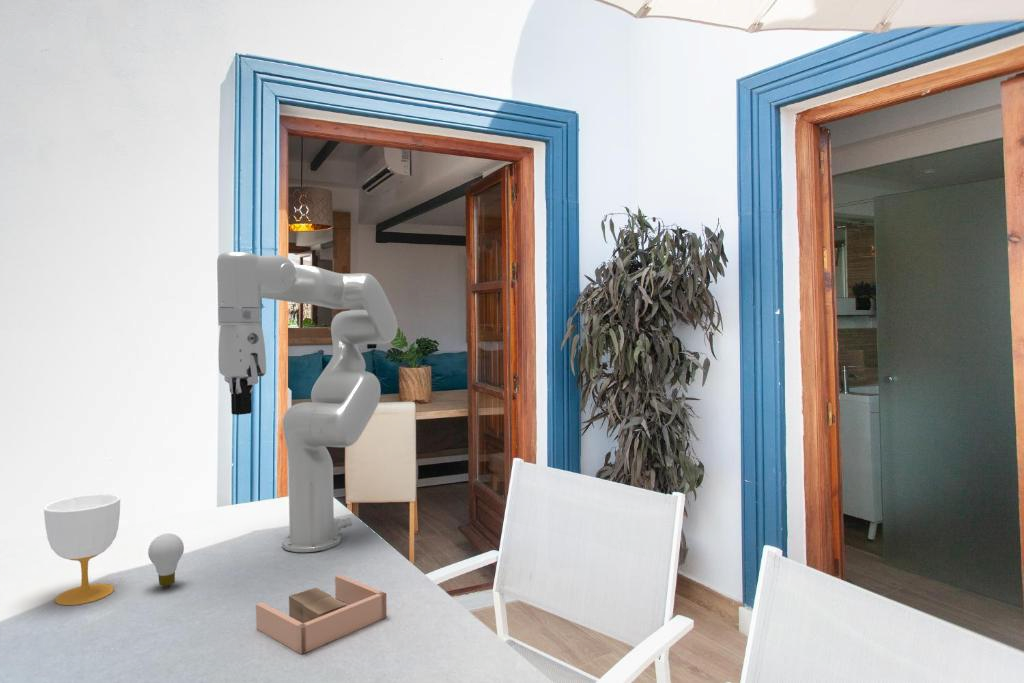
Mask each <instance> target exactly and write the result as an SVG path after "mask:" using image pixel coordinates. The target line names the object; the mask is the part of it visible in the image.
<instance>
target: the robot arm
mask: <svg viewBox="0 0 1024 683" xmlns="http://www.w3.org/2000/svg"><path fill="white" fill-rule="evenodd" d="M216 266H217V267H216V270H217V274H216V276H217V318H218V319H217V321H218V322H217V324H218V326H219V338H218V370H219V374H220V375H221V376H224V381H225V382H226V383H227V384H228V385H229V386H228V387H229V388H228V389H229V392H230V401H231V402H230V403H231V404H230V406H231V407H230V408H231V415H236V416H238V415H249V414H252V412H253V411H252V409H253V408H252V407H253V406H252V393H253V388H254V385H257V384H258V383H259V377H260V378H261V377H264V376H265V375H266V374H267V358H266V357H267V356H266V346H265V337H264V331H263V327H262V311H261V310H262V309H261V308H262V306H261V303H262V302H261V299H269V300H275V301H284V302H288V303H289V302H290V303H294V304H295V303H298V304H307V305H314V306H317V307H322V308H323V307H324V308H328V309H332V310H344V311H340V312H338V313H336V315H335V316H334V317H333V318H332V320H331V325H330V333H331V341H332V350H333V351H332V352H333V353H332V357H331V359H330V360H329V362H328V363H327V365H326V367H324V369H323V371H322V372H321V373H320V375H319V376H318V378H317V379H316V381H315V383H314V385H313V386H312V390H311V393H310V399H311V401H310V402H309V401H307V402H300V403H295V404H294V405H291V406H290V407H289V408H288V409H287V410H286V412H285V413H284V415H283V419H282V432H283V437H284V440H285V445H286V450H287V463H288V465H287V467H288V508H289V509H288V515H289V518H288V519H289V522H288V525H289V534H288V535H287V536H286V537H284V538H283V540H282V541H281V545H282V546H281V547H282V548H283V550H286V551H288V552H292V553H313V552H314V553H315V552H319V551H325V550H329V549H332V548H334V547H335V546H337V545H339V544H340V543H341V541H342V535H341V534H340V531H341V530H342V529H344V528H349V527H351V526H352V525H353V520H352V518H350V517H347V518H344V519H342V520H341V518H334V517H335V515H334V511H335V510H334V509H335V508H334V505H335V504H334V463H333V460H332V457H331V454H330V452H329V450H328V448H330V447H331V448H348V447H351V446H352V445H354V444H356V443H357V441H358V440H359V439H360V437H361V435H362V434H363V433H364V430H366V427H367V426H368V424H369V422H370V420H371V418H372V417H373V415H374V413H375V411H376V410H377V408H378V405H379V404H380V403H379V402H380V398H381V383H380V381H379V379H378V377H377V376H376V375H375V374H374V373H372V372H369V371H366V360H365V358H364V356H363V354H362V353H361V352H360V350H359V346H358V345H382V344H383V345H384V344H388V343H389V344H390V343H391V342H392V341H393V340H395V338H396V336H397V333H398V327H399V326H398V321H397V317H396V315H395V312H394V310H393V308H392V306H391V304H390V301H389V299H388V297H387V295H386V293H385V291H384V289H383V287H382V286H381V284H380V283H379V281H378V280H377V278H375V276H374V275H372V274H370V273H368V272H367V273H366V272H365V273H363V272H359V273H356V272H355V273H339V272H335V271H332V270H328V269H324V268H322V267H318V266H314V265H306V264H305V265H304V264H294V263H293V261H291V260H290V259H289V258H288V257H285V256H284V255H283V256H282V255H277V254H268V255H257V254H254V253H252V252H245V251H228V252H227V251H225V252H222V253H220V254H219V255H218V257H217V259H216ZM327 447H328V448H327Z"/></svg>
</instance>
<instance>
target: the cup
mask: <svg viewBox="0 0 1024 683" xmlns="http://www.w3.org/2000/svg"><path fill="white" fill-rule="evenodd" d="M43 514H44V516H43V517H44V525H45V530H46V535H47V536H46V538H47V541H48V543H49V546H50V549H51V550H52V551H53V552H54V554H56V555H57V556H58V557H59V558H62V559H65V560H69V561H77V562H79V563H80V570H81V572H80V573H81V582H80V584H81V585H80V586H76V587H73V588H70V589H67V590H65V591H63V592H61V593H60V594H58V595H57V596H56V597H55V603H56V604H58V605H61V606H77V605H84V604H89V603H93V602H96V601H98V600H99V601H100V600H102V599H104V598H106V597H109V595H111V594H112V593H113V592H114V591H115V589H114V586H113V585H111V584H109V583H94V584H93V583H91V584H89V582H90V581H89V573H88V572H89V561H90V559H93V558H96V557H98V556H99V555H101V554H103V553H104V552H106V550H107V549H109V548H110V547H111V545H112V544H113V542H114V540H115V539H116V538H117V537H116V536H117V535H118V531H119V524H120V515H121V498H120V496H119V495H117V494H113V493H111V494H110V493H97V494H95V493H94V494H85V495H83V494H82V495H76V496H71V497H67V498H61V499H58V500H55V501H52V502H49V503H47V504H46V505H44V506H43Z"/></svg>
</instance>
